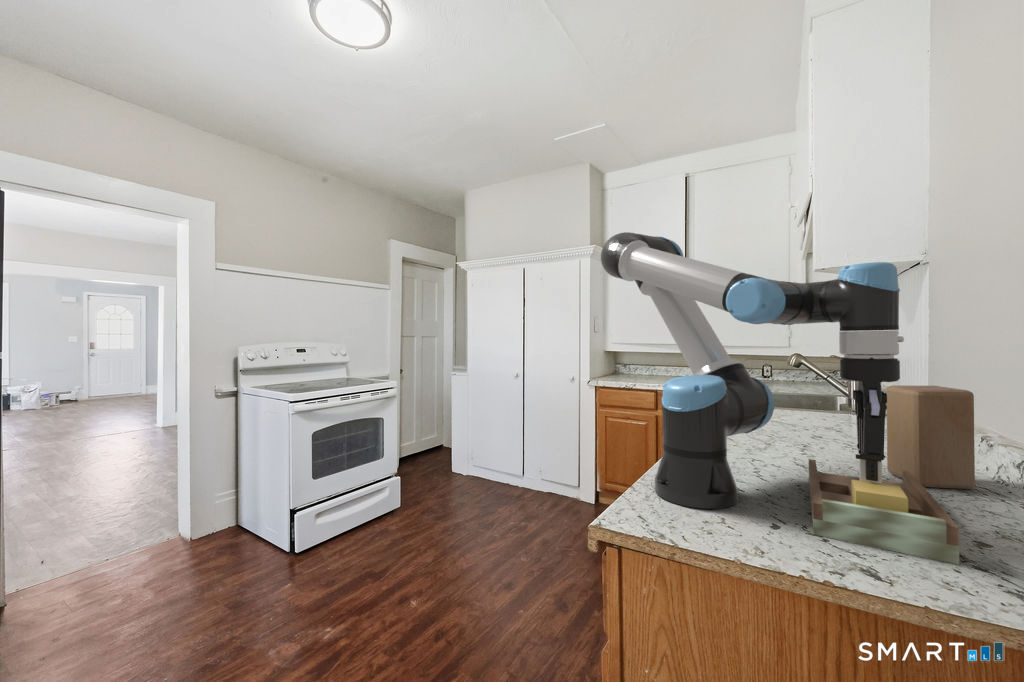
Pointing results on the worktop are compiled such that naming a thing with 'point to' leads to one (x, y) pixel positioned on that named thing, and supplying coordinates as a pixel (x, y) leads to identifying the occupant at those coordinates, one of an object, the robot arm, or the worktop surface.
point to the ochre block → (879, 496)
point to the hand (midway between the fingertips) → (870, 497)
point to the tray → (883, 518)
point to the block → (931, 435)
